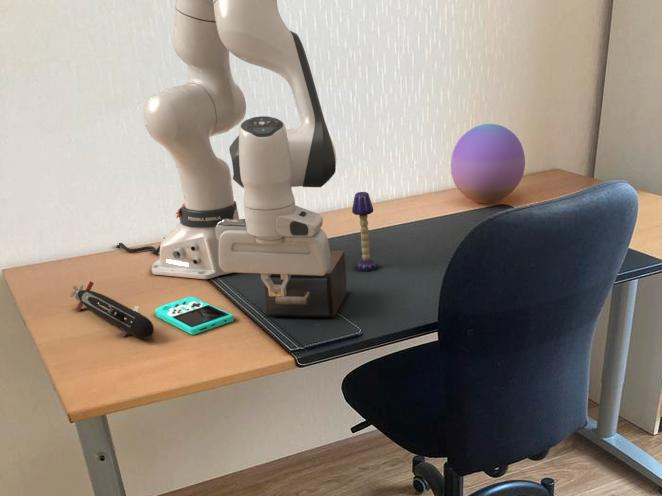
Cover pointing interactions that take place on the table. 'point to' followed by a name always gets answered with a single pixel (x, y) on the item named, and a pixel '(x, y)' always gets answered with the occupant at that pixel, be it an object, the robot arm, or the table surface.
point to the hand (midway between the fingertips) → (277, 295)
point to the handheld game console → (193, 315)
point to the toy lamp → (364, 228)
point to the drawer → (301, 297)
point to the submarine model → (114, 312)
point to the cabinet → (335, 284)
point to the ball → (487, 163)
